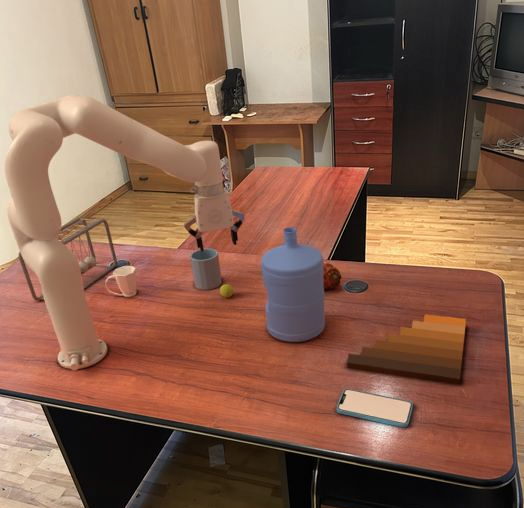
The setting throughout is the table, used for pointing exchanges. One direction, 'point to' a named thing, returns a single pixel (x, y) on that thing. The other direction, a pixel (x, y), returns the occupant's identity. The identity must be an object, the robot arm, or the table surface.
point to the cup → (125, 280)
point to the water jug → (294, 290)
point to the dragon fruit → (331, 276)
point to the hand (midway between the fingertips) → (218, 246)
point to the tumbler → (206, 269)
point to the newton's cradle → (89, 260)
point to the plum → (226, 290)
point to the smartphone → (375, 407)
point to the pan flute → (418, 351)
